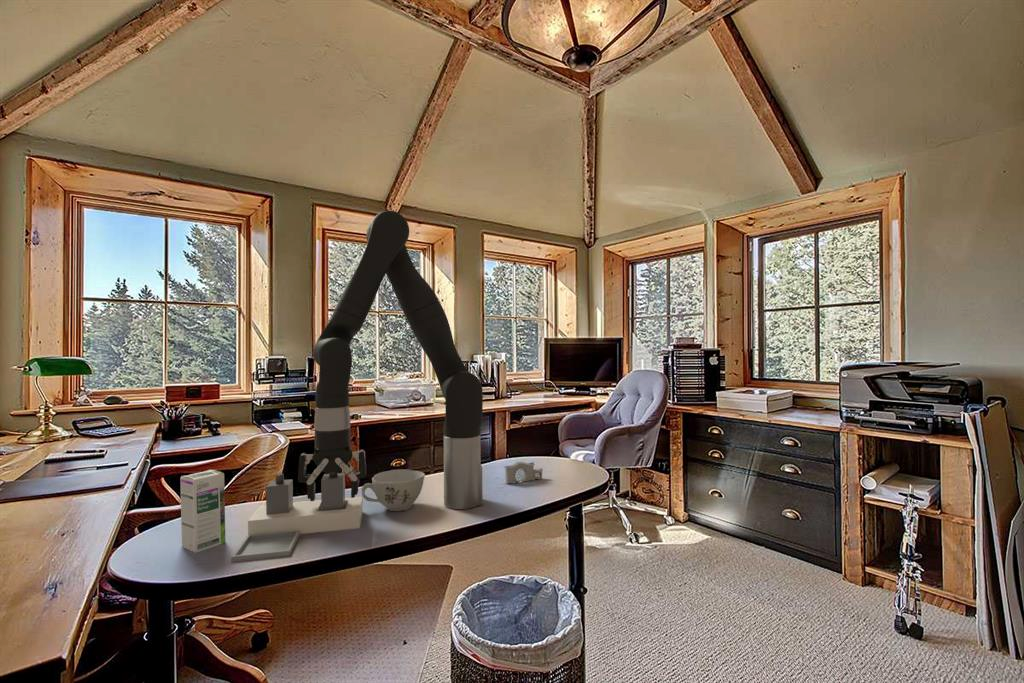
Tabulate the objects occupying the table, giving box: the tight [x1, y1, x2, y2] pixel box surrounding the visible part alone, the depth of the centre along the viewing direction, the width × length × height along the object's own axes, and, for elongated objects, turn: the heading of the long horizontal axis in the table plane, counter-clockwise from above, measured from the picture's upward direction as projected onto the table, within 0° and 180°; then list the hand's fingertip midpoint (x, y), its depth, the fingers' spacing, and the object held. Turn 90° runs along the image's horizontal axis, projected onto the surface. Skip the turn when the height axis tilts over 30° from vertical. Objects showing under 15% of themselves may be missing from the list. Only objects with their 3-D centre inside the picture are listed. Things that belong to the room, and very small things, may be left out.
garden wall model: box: [504, 461, 544, 485], centre depth 138 cm, size 12×2×6 cm, turn 117°
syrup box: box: [180, 469, 226, 554], centre depth 95 cm, size 6×6×14 cm
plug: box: [320, 472, 346, 511], centre depth 107 cm, size 4×4×12 cm
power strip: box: [247, 473, 364, 535], centre depth 105 cm, size 22×10×12 cm, turn 104°
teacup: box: [361, 468, 426, 512], centre depth 116 cm, size 15×12×8 cm
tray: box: [230, 530, 301, 563], centre depth 94 cm, size 10×10×1 cm
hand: (333, 498), depth 106 cm, fingers open, 8 cm apart
